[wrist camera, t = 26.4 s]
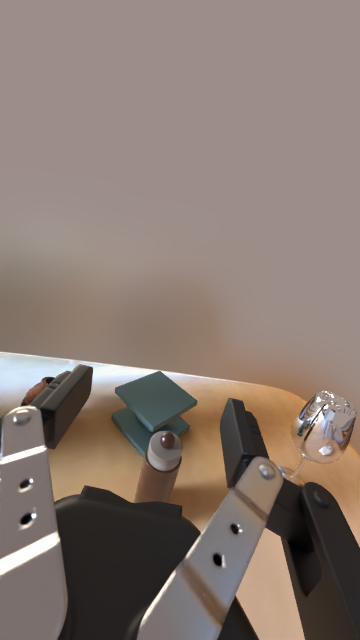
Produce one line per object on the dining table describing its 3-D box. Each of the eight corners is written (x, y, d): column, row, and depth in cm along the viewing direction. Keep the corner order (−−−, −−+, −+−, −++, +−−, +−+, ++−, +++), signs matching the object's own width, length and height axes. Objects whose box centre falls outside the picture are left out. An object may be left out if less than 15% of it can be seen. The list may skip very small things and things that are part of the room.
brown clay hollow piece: (15, 405, 47) (37, 369, 47) (61, 417, 51) (80, 384, 52) (5, 441, 36) (33, 394, 37) (63, 452, 41) (87, 410, 42)
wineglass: (302, 521, 37) (362, 430, 30) (259, 481, 42) (302, 395, 35) (316, 491, 43) (369, 408, 36) (277, 459, 47) (317, 380, 41)
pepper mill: (126, 503, 34) (141, 430, 29) (152, 482, 38) (169, 414, 33) (147, 535, 31) (168, 459, 26) (172, 509, 35) (195, 438, 30)
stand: (110, 418, 48) (115, 387, 45) (153, 397, 57) (159, 370, 54) (145, 460, 41) (153, 427, 38) (188, 429, 50) (197, 400, 47)
